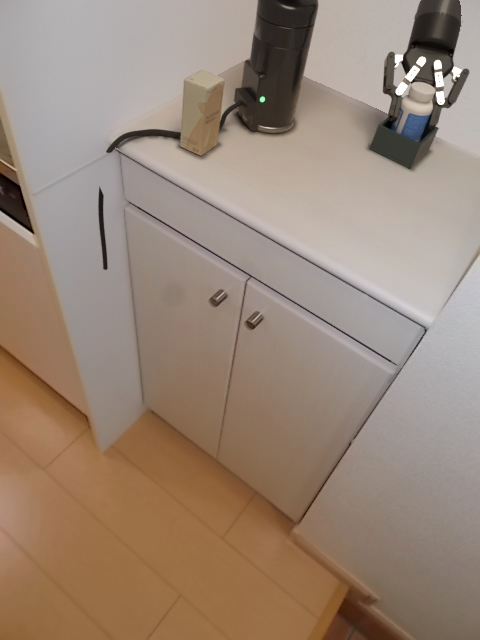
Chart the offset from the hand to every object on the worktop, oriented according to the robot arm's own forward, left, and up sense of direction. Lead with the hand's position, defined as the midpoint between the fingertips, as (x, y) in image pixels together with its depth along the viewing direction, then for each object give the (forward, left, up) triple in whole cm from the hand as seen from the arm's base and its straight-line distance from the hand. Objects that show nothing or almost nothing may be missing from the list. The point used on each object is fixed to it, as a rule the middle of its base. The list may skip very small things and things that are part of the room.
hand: (411, 124), depth 88 cm
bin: (+1, +1, -6) cm, 6 cm away
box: (-34, +10, -6) cm, 36 cm away
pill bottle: (+1, +2, -4) cm, 5 cm away
